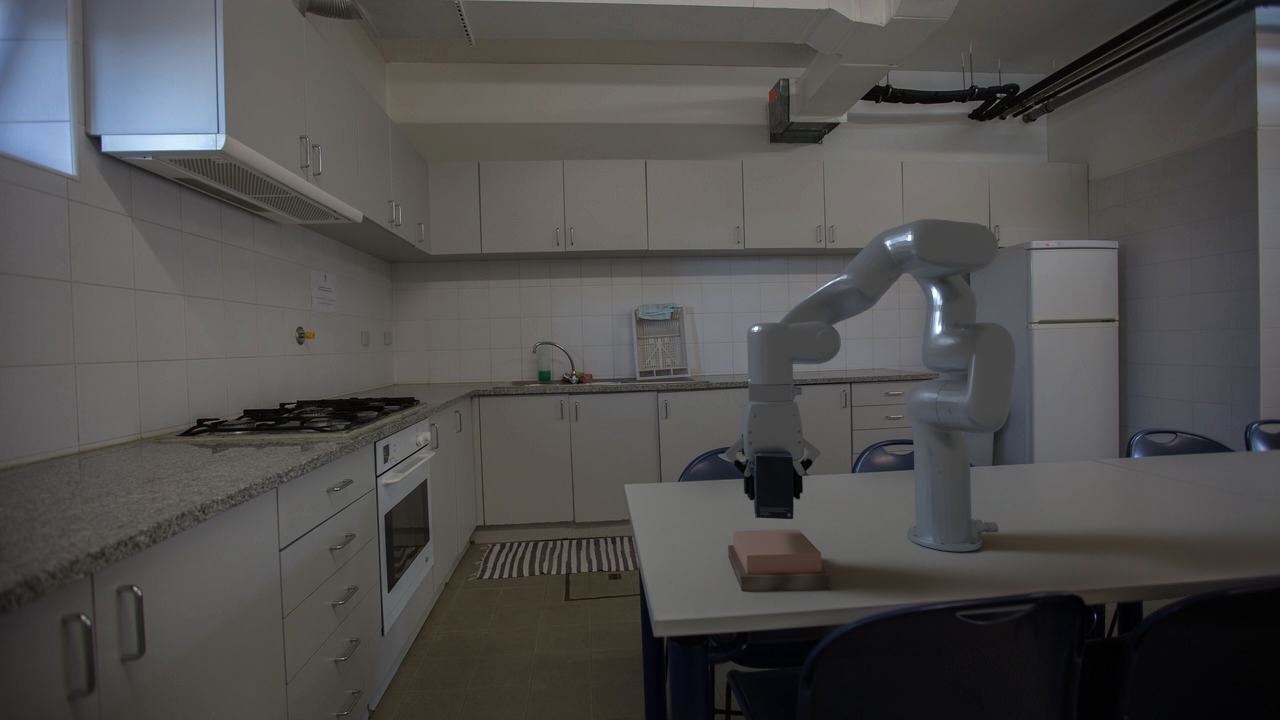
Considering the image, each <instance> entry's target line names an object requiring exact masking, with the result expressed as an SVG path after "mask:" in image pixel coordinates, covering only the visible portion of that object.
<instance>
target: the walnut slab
mask: <svg viewBox="0 0 1280 720" xmlns="http://www.w3.org/2000/svg"><path fill="white" fill-rule="evenodd" d="M727 548H728V549H727V551H728V553H727V555H728V556H727V557H728V560H729V562H730V565H731V568H732V570H733V574H734V575H735V578H736V581H737V583H738V586H739V588H740V591H741V592H762V591H763V592H765V591H769V592H771V591H772V592H773V591H815V590H818V591H823V590H829V591H830V589H831V580H830V579H831V578H830V574H829V573H828V571H827V570H826V569H825V567H823V565H822V572H802V573H769V574H747V572H746V570H745V568H744V566H743V564H742V562H741V560H740V558H739V557H738V555H737V553H736V551H735V549H734V544H733V545H730V544H729V545H727Z"/></svg>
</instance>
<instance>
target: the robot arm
mask: <svg viewBox="0 0 1280 720" xmlns="http://www.w3.org/2000/svg"><path fill="white" fill-rule="evenodd" d="M998 252H999V242H998V239H997V236H996V235H995V233H994V232H993V230H991V229H990V228H989V227H987V226H985V225H984V224H980V223H975V222H968V221H967V222H966V221H956V220H949V219H948V220H947V219H937V218H925V219H924V218H922V219H917V220H914V221H911V222H907V223H904V224H902V225H898V226H895V227H892V228H888V229H886V230H884V231H882V232H880V233H878V234H877V235H875V236H874V237H873V238H872V239H871V240H870V241H869V242H868V243H867V244H866V245H865V246H864V248H862V250H861V251H860V252H859V253H857V254H856V256H854V258H853V259H852V260H851V261H850V262H849V263H848V264H847V265H846V266H845V267H844V269H842V270H841V272H840V273H839V274H838V275H836V276H835V277H834V278H832V279H831V280H829V281H828V282H826V283H824V285H822V286H821V287H820V288H818V289H817V290H815V291H814V292H812V293H811V294H809V296H807V297H805V298H804V299H802V300H801V301H800V302H799V303H797V304H796V305H795V306H794V307H793V308H791V309H790V311H788V312H787V313H786V314H785V315H784V316H783V318H781V320H780V321H779V322H763V323H762V322H761V323H755V324H752V325H750V326H749V327H748V329H747V335H746V337H747V339H746V342H747V345H746V346H747V347H746V349H747V350H746V351H747V383H748V388H747V389H748V402H747V401H746V402H743V407H742V412H741V421H740V422H741V425H740V426H741V427H740V438H739V439H738V440H737V441H735V443H734V444H732V445H731V446H730V447H729V448H728V449H726V450H725V452H724V455H725V457H727V459H728V460H729V461H730V462H731V463H732V464H733V465H734V467H735V468H737V470H738V471H739V472H740V473H741V474H743V493H744V494H745V495H747V497H748V499H749V501H754V499H755V486H754V475H753V472H754V453H755V452H786V453H791V455H792V457H793V497H794V500H795V499H796V500H800V499H801V494H803V492H804V490H803V488H804V485H803V484H804V483H803V480H804V479H803V476H805V474H806V472H807V471H808V470H809V469H810V468H811V467H812V466H813V463H814V462H815V461H816V460H817V459H818V457H819V456H820V455H821V451H820V450H819V448H817V447H815V446H814V445H813V444H812V443H810V442H809V441H808V440H807V439H805V438H804V433H803V432H804V431H803V425H802V420H801V419H802V418H801V413H800V408H799V404H798V402H797V401H794V400H795V398H796V397H797V396H802V393H803V391H802V389H803V388H802V387H801V386H800V387H797V386H795V384H794V370H793V369H794V367H793V365H820V364H825V363H827V362H830V361H831V360H833V359H834V358H835V357H836V356H837V355H838V354H839V352H840V350H841V346H842V340H841V336H840V333H839V332H838V330H837V329H836V328H835V325H837V324H838V323H840V322H842V321H845V320H848V319H851V318H855V317H856V316H858V315H860V314H863V313H864V312H866V311H868V310H870V309H872V308H873V307H874V306H875V305H876V304H877V303H878V302H879V300H881V298H883V296H884V295H885V294H886V293H887V292H888V290H890V288H892V287H893V285H895V283H896V282H897V281H898V280H899V279H900V278H901V277H902V276H903V274H905V273H907V272H908V273H909V274H910V276H911V277H912V279H914V280H915V281H916V283H918V285H919V287H920V288H921V290H922V291H923V294H924V296H925V299H926V314H925V324H924V330H923V331H924V332H923V339H922V347H921V359H922V364H923V365H924V366H925V367H926V368H927V369H928V370H929V371H931V372H935V373H941V374H954V375H955V374H961V375H962V374H963V375H967V380H958V379H928V380H923V381H920V382H918V383H917V384H915V385H914V386H912V388H911V389H910V390H909V392H908V394H907V398H906V409H907V410H906V411H907V414H908V419H909V423H910V427H911V432H912V433H911V434H912V441H913V442H912V443H913V465H914V466H913V470H914V471H913V473H914V502H915V503H914V505H915V506H914V507H915V508H914V509H915V525H914V526H911V527H909V528H908V529H907V538H908V539H909V540H910V541H912V542H914V544H918V545H920V546H923V547H926V548H929V549H933V550H940V551H945V552H960V553H961V552H973V551H976V550H979V549H980V548H982V546H983V539H982V538H981V537H980V536H979V535H982V533H998V531H999V526H998V523H997V522H995V521H985V522H983V520H981V519H974V518H973V517H972V493H971V492H972V491H971V489H972V488H971V455H970V449H969V446H968V443H967V440H966V439H965V437H964V435H963V433H962V432H964V433H972V434H979V435H980V434H981V435H988V434H993V433H995V432H997V431H999V430H1000V429H1002V427H1003V426H1004V425H1005V424H1006V421H1007V419H1008V416H1009V412H1010V407H1011V399H1012V390H1013V383H1014V373H1015V367H1016V365H1015V364H1016V347H1015V346H1016V344H1015V341H1014V339H1013V336H1012V334H1011V332H1010V331H1009V330H1008V329H1007V328H1006V327H1005V326H1003V325H1001V324H999V323H996V322H989V321H987V322H976V321H977V320H976V319H977V298H976V295H975V292H974V291H973V289H972V288H971V286H970V285H969V284H968V283H967V281H965V279H964V278H963V277H962V276H961V275H964V274H969V273H974V272H975V273H976V272H980V271H982V270H984V269H986V268H988V267H989V266H990V265H991V264H993V262H994V261H995V260H996V258H997V256H998ZM805 450H806V451H807V455H806V456H805V457H804V453H805ZM739 452H741V455H742V456H743V457H745V460H744V462H743V463H742V462H741V460H740V459H739V458H738V457H737V453H739ZM802 458H803V459H802ZM801 459H802V460H801Z"/></svg>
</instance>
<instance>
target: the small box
mask: <svg viewBox="0 0 1280 720" xmlns="http://www.w3.org/2000/svg"><path fill="white" fill-rule="evenodd" d="M753 477H754V486H755V499H754V500H753V506H754V507H753V508H754V517H755V519H776V520H777V519H780V520H781V519H782V520H793V519H794V500H795V498H794V497H793V457H792V455H791V453H786V452H755V453H754V469H753Z"/></svg>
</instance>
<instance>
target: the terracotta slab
mask: <svg viewBox="0 0 1280 720" xmlns="http://www.w3.org/2000/svg"><path fill="white" fill-rule="evenodd" d="M733 545H734V549H735V551H736V553H737V555H738V557H739V558H740V560H741V562H742V564H743V566H744V568H745V570H746V572H747V574H769V573H802V572H822V566H823V565H822V552H821V551H820V550H819V549H818V548H817V547H816V546H815V545H814V544H813V543H812V542H811V541H810V540H809V538H807V536H805V534H804V533H803V532H802V531H801V530H800V529H799V528H790V529H789V528H788V529H757V530H733Z"/></svg>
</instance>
